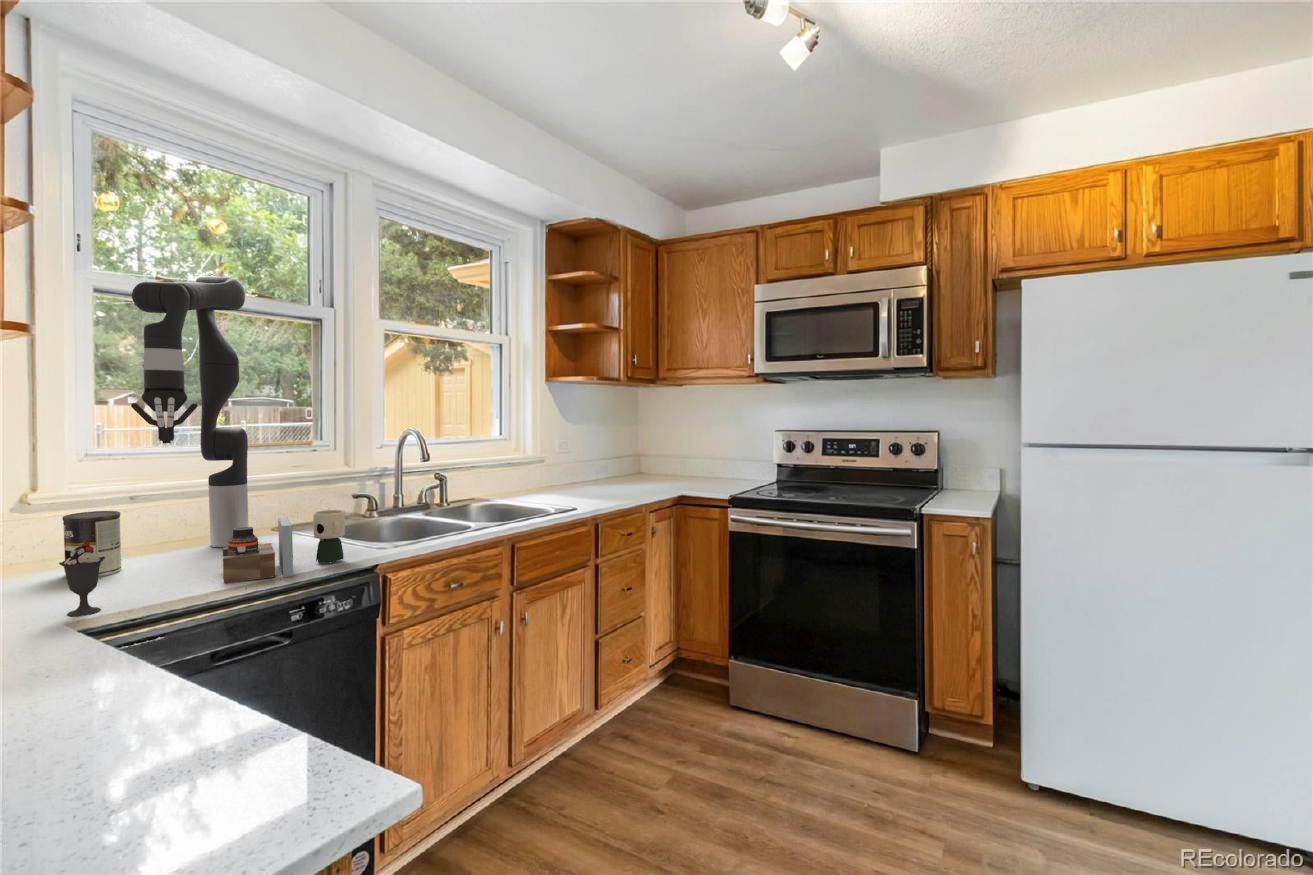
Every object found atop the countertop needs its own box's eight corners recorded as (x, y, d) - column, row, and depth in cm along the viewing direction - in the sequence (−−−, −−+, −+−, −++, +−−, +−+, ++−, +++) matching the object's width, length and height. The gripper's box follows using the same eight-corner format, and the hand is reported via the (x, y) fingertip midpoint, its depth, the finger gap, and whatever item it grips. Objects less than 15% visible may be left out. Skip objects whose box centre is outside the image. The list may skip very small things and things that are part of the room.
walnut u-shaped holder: (223, 570, 155) (222, 547, 155) (271, 564, 161) (271, 543, 161) (223, 583, 144) (222, 558, 144) (275, 576, 150) (274, 553, 150)
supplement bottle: (248, 579, 149) (247, 530, 148) (222, 579, 149) (221, 530, 148) (264, 572, 155) (263, 525, 154) (239, 572, 155) (238, 525, 154)
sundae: (109, 612, 125) (106, 535, 124) (62, 620, 120) (59, 540, 119) (104, 604, 130) (101, 530, 129) (59, 612, 125) (56, 535, 124)
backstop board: (279, 565, 162) (278, 517, 161) (288, 564, 163) (287, 516, 162) (283, 576, 151) (282, 526, 150) (293, 575, 152) (292, 525, 151)
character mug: (307, 561, 166) (306, 510, 165) (336, 556, 171) (335, 507, 171) (323, 568, 159) (322, 516, 158) (352, 563, 164) (352, 512, 163)
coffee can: (67, 581, 146) (64, 519, 145) (62, 573, 153) (60, 514, 152) (126, 573, 153) (123, 514, 153) (118, 565, 160) (116, 509, 160)
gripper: (199, 370, 157) (201, 441, 158) (129, 368, 150) (132, 443, 151) (198, 369, 151) (200, 443, 152) (125, 367, 144) (128, 445, 145)
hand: (166, 443), depth 152 cm, fingers closed
